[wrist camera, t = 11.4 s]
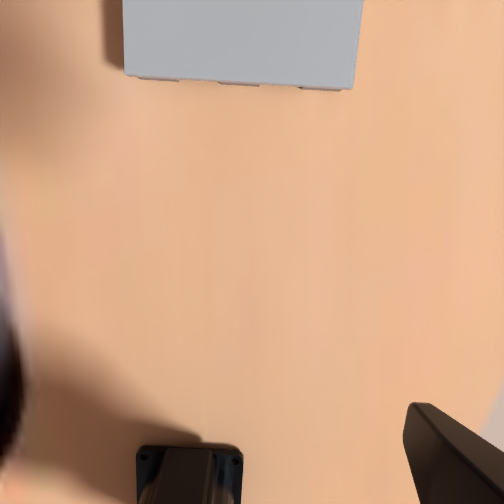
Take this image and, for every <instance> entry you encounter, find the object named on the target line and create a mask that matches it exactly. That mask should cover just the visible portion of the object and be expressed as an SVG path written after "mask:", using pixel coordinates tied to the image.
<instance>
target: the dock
mask: <svg viewBox="0 0 504 504" xmlns="http://www.w3.org/2000/svg"><path fill="white" fill-rule="evenodd" d="M122 2H123V37H124V72H125V75H127V76H129V77H137V78H139V79H143V80H160V81H176V82H179V80H195V81H211V82H220V83H221V84H226V85H242V86H258V87H259V84H261V85H277V86H293V87H302V88H301V89H308V90H324V91H341V90H350V89H352V88H353V84H354V76H355V68H356V59H357V51H358V42H359V34H360V25H361V17H362V8H363V0H122Z"/></svg>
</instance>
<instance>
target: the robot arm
mask: <svg viewBox="0 0 504 504" xmlns="http://www.w3.org/2000/svg"><path fill="white" fill-rule="evenodd" d="M403 445H404V448H405V452H406V455H407V459H408V462H409V466H410V469H411V473H412V476H413V480H414V483H415V487H416V490H417V494H418V497H419V501H420V504H504V452H502V451H501V450H499V449H498V448H497V447H495V446H494V445H492V444H491V443H489V442H487V441H486V440H484V439H483V438H482V437H480V436H478V435H477V434H475V433H474V432H472V431H471V430H469V429H468V428H466V427H465V426H463V425H462V424H460V423H459V422H457V421H456V420H454V419H453V418H451V417H450V416H448V415H447V414H445V413H444V412H442V411H441V410H439V409H438V408H436V407H435V406H433V405H432V404H430V403H419V402H412V403H411V404H410V405H409V407H408V410H407V415H406V420H405V425H404V430H403ZM143 454H147V456H146V455H143ZM234 458H236V459H238V460H233V459H234ZM243 458H244V457H243V454H242V452H240V451H238V450H225V449H205V448H186V447H167V446H148V445H145V446H141V447H140V448H139V449H138V451H137V454H136V477H137V504H241V491H242V476H243Z"/></svg>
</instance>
